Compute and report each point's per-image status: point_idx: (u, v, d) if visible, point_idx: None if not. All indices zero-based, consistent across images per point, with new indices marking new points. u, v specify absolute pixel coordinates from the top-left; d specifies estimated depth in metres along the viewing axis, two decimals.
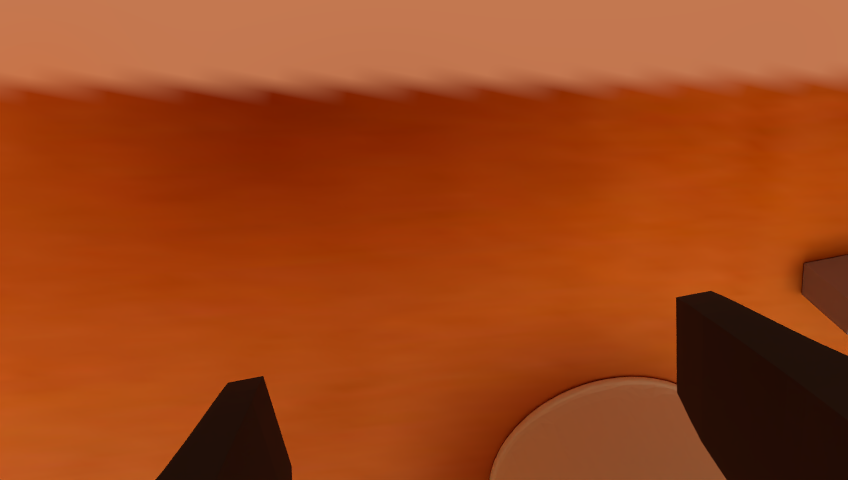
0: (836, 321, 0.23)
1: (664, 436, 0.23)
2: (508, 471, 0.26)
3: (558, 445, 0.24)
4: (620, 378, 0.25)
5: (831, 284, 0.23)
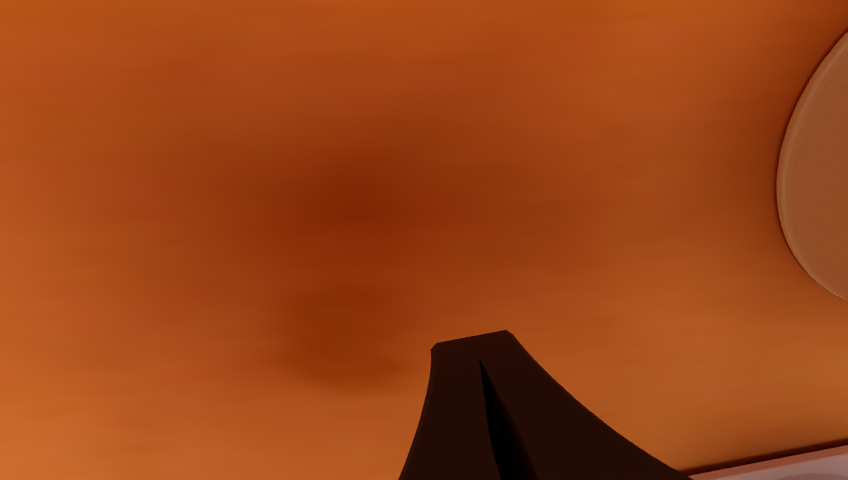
0: None
1: None
2: (840, 94, 0.16)
3: None
4: None
5: None
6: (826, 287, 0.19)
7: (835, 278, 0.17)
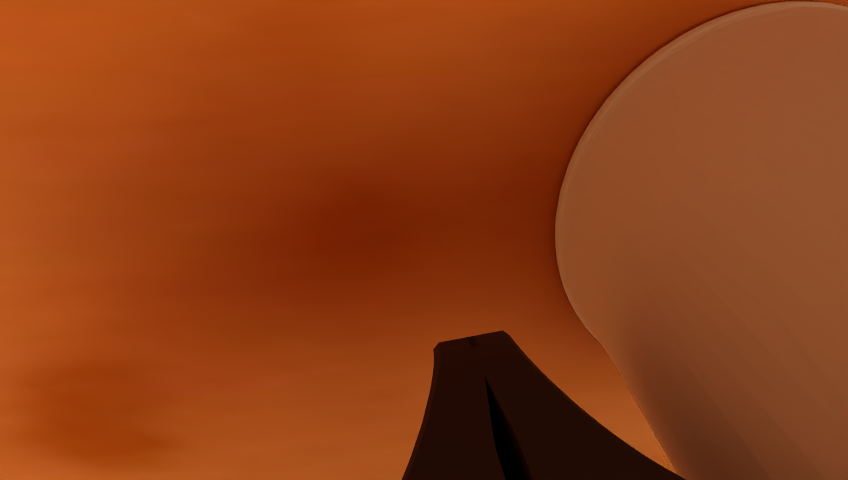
0: None
1: None
2: (598, 162, 0.15)
3: (698, 80, 0.13)
4: None
5: None
6: None
7: None
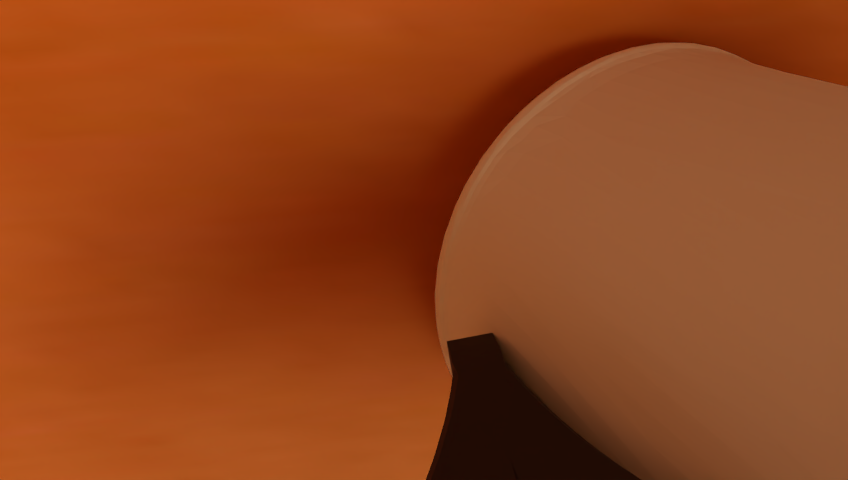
0: None
1: (797, 77, 0.12)
2: (482, 231, 0.13)
3: (589, 135, 0.12)
4: None
5: None
6: None
7: None
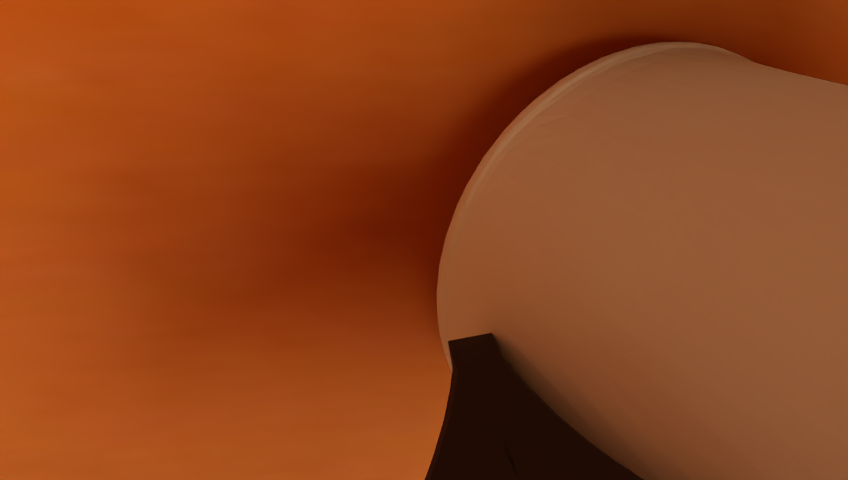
0: None
1: (801, 76, 0.12)
2: (484, 231, 0.13)
3: (591, 134, 0.12)
4: None
5: None
6: None
7: None
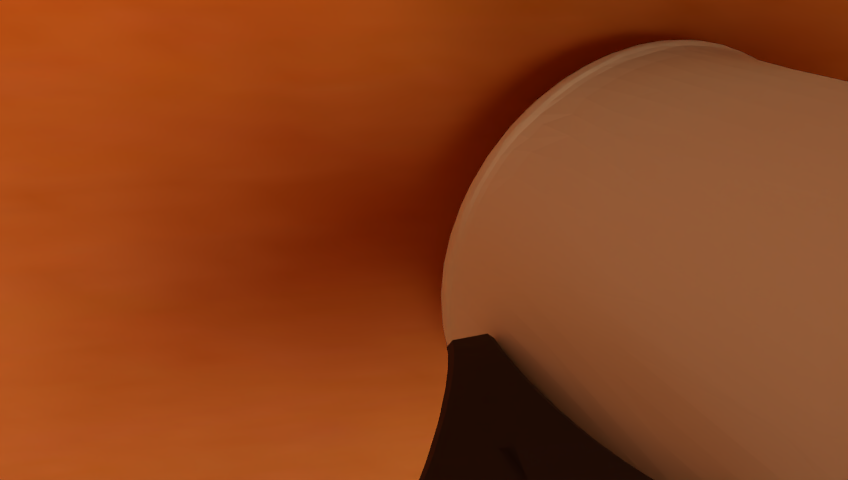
0: None
1: (806, 75, 0.12)
2: (489, 230, 0.13)
3: (596, 133, 0.12)
4: None
5: None
6: None
7: None
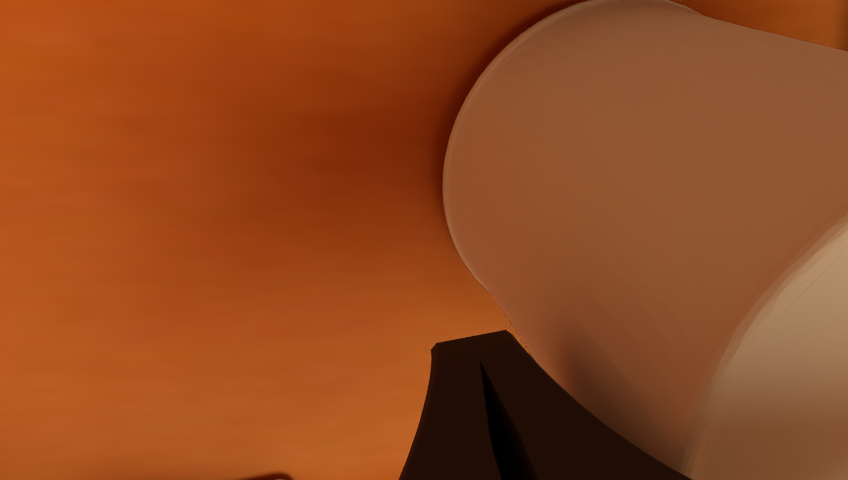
0: None
1: (702, 18, 0.16)
2: (473, 129, 0.18)
3: (547, 57, 0.16)
4: None
5: None
6: None
7: None
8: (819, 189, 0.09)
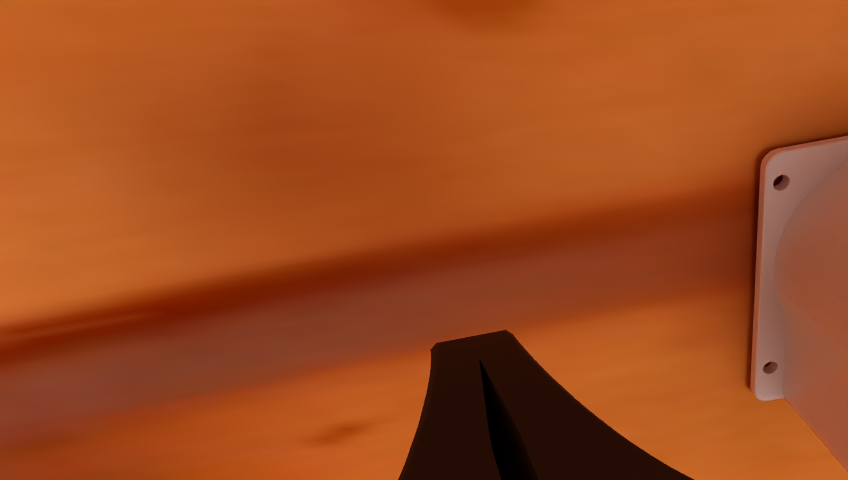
0: None
1: None
2: None
3: None
4: None
5: None
6: None
7: None
8: None
